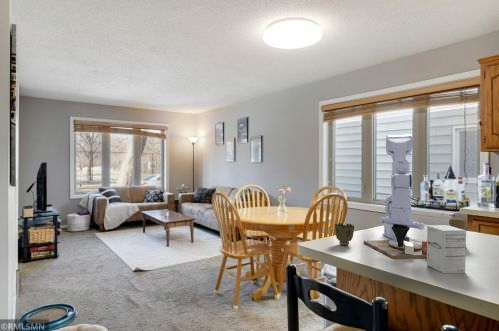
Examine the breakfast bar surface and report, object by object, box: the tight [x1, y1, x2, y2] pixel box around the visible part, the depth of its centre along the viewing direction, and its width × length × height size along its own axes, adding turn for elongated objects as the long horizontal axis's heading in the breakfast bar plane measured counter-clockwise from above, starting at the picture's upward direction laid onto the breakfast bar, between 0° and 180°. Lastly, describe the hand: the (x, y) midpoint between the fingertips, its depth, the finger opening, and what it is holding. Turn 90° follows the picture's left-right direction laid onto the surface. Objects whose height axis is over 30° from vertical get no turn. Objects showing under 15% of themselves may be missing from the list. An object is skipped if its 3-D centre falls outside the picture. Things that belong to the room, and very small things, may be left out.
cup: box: [333, 222, 355, 247], centre depth 119 cm, size 8×7×8 cm
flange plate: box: [389, 239, 422, 255], centre depth 111 cm, size 16×11×3 cm, turn 160°
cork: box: [448, 217, 466, 230], centre depth 117 cm, size 6×6×11 cm
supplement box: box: [426, 224, 467, 274], centre depth 92 cm, size 7×7×13 cm
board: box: [363, 235, 427, 260], centre depth 113 cm, size 20×22×5 cm
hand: (400, 246), depth 107 cm, fingers closed, pressing on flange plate
